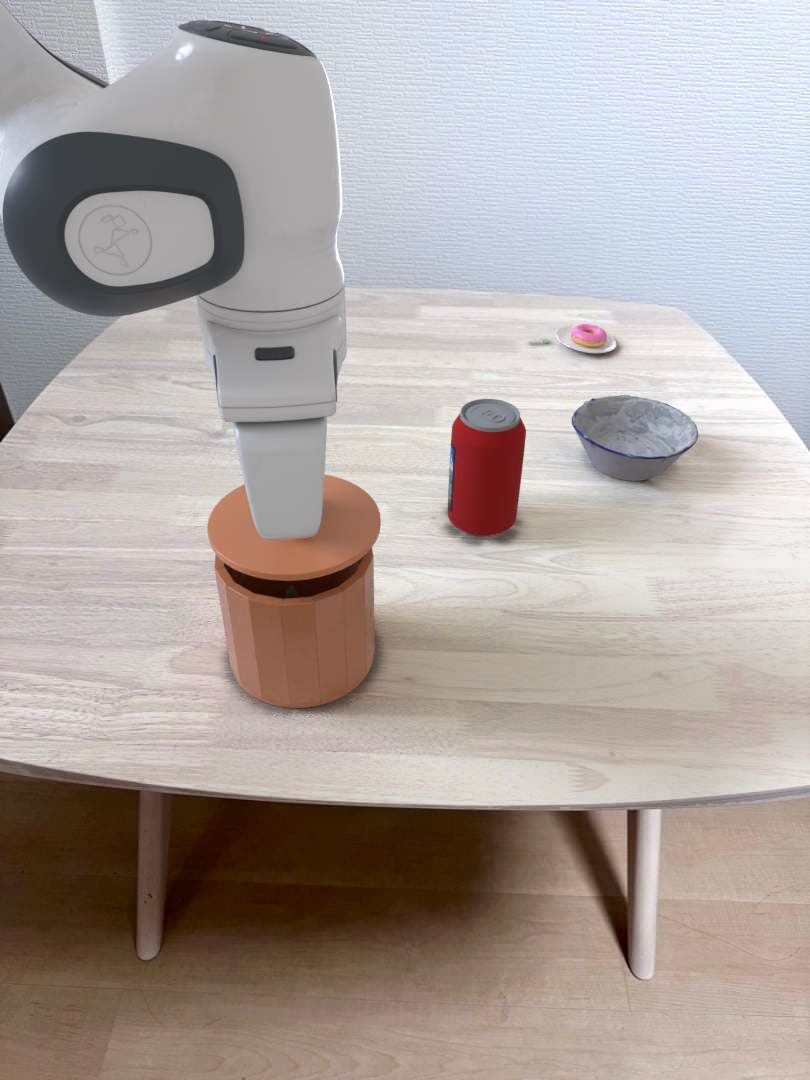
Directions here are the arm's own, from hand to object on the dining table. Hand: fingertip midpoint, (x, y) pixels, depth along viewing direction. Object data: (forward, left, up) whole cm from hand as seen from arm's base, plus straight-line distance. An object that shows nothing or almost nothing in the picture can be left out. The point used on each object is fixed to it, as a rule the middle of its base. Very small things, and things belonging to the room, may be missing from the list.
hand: (290, 511), depth 61 cm
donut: (+39, +53, -14) cm, 67 cm away
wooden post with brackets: (-1, -1, -13) cm, 13 cm away
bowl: (+36, +24, -14) cm, 46 cm away
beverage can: (+18, +15, -14) cm, 27 cm away
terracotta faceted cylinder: (0, -1, -14) cm, 14 cm away
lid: (0, 0, -1) cm, 1 cm away
